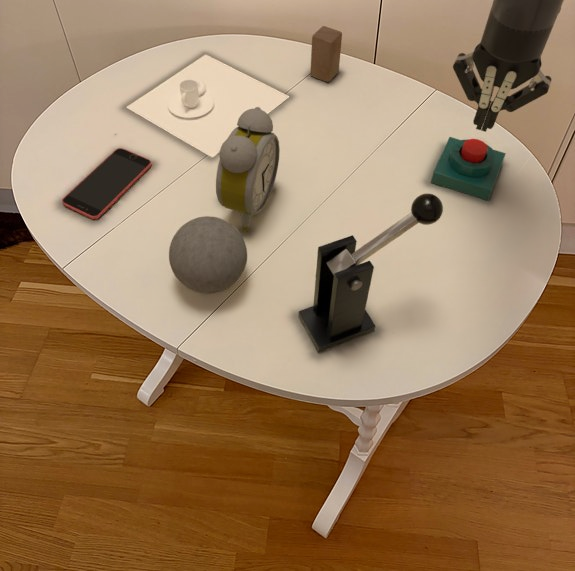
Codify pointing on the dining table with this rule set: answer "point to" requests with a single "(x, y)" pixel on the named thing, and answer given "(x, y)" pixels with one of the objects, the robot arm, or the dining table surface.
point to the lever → (391, 232)
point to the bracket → (338, 299)
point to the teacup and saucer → (205, 103)
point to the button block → (467, 170)
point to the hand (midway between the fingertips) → (482, 127)
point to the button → (474, 150)
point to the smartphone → (106, 183)
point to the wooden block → (325, 53)
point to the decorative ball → (208, 255)
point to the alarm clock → (248, 165)
